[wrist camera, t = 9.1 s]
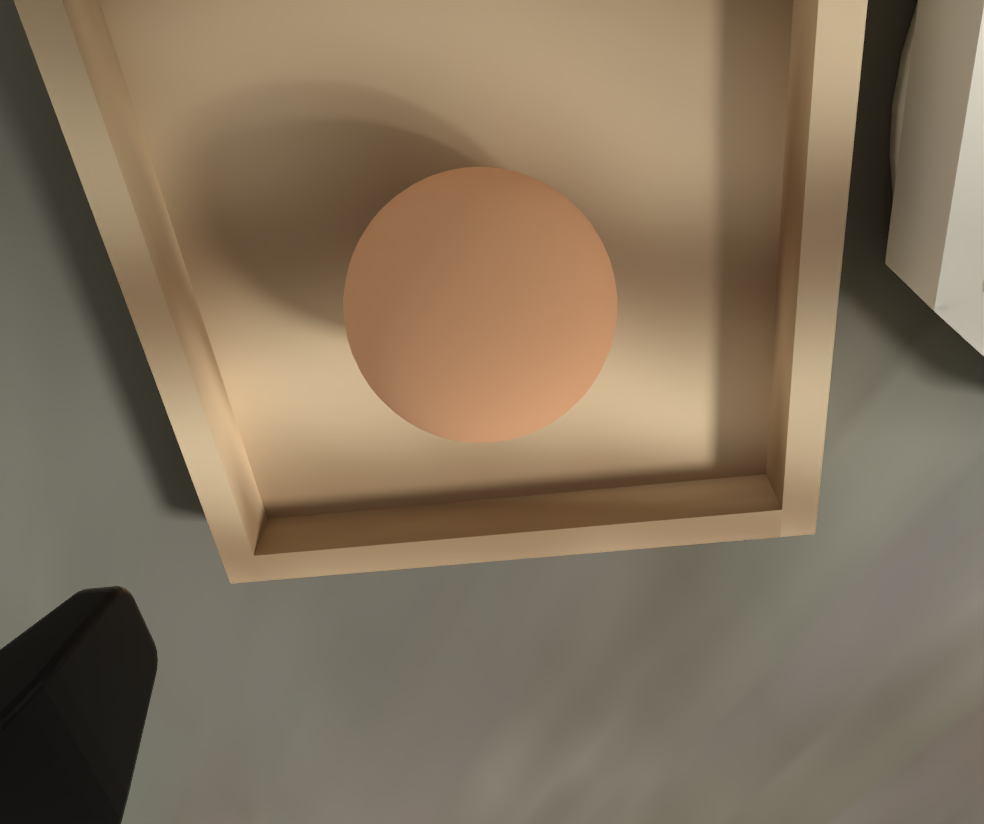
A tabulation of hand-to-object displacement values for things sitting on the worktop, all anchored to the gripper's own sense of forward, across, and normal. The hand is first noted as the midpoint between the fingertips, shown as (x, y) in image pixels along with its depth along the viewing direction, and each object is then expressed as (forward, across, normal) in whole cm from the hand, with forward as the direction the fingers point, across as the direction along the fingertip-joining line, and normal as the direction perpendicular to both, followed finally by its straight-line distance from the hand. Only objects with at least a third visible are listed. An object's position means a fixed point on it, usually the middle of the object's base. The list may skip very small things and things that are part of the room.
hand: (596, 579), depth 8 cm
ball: (+11, +2, +1) cm, 11 cm away
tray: (+12, +2, +1) cm, 12 cm away
